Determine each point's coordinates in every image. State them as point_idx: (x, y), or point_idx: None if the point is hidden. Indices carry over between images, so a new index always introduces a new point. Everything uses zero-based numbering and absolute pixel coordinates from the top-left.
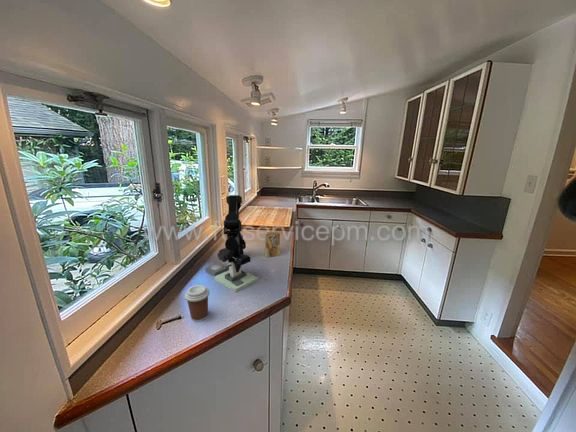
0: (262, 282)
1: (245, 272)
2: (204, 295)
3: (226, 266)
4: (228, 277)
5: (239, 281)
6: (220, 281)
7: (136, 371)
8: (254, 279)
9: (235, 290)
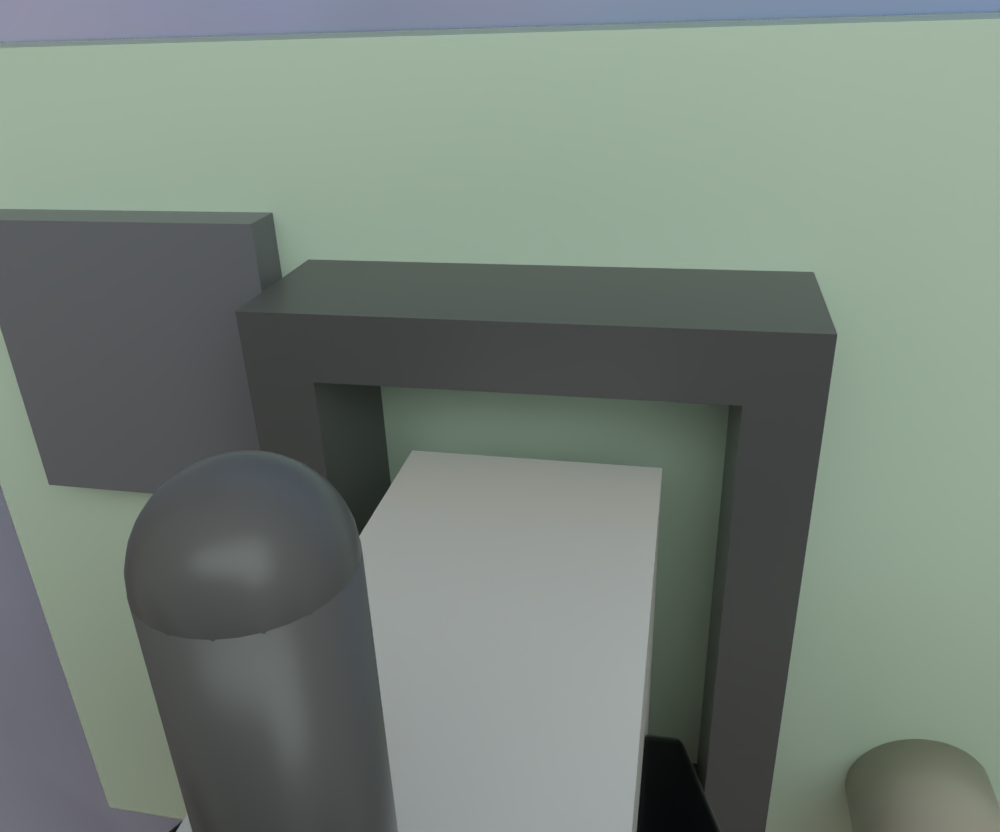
0: (21, 730)
1: None
2: None
3: (174, 693)
4: (508, 312)
5: (135, 427)
6: (848, 20)
7: None
8: (81, 721)
9: None
